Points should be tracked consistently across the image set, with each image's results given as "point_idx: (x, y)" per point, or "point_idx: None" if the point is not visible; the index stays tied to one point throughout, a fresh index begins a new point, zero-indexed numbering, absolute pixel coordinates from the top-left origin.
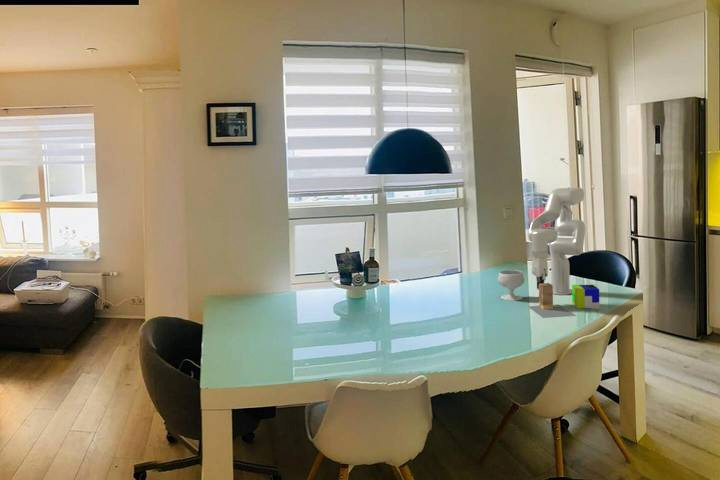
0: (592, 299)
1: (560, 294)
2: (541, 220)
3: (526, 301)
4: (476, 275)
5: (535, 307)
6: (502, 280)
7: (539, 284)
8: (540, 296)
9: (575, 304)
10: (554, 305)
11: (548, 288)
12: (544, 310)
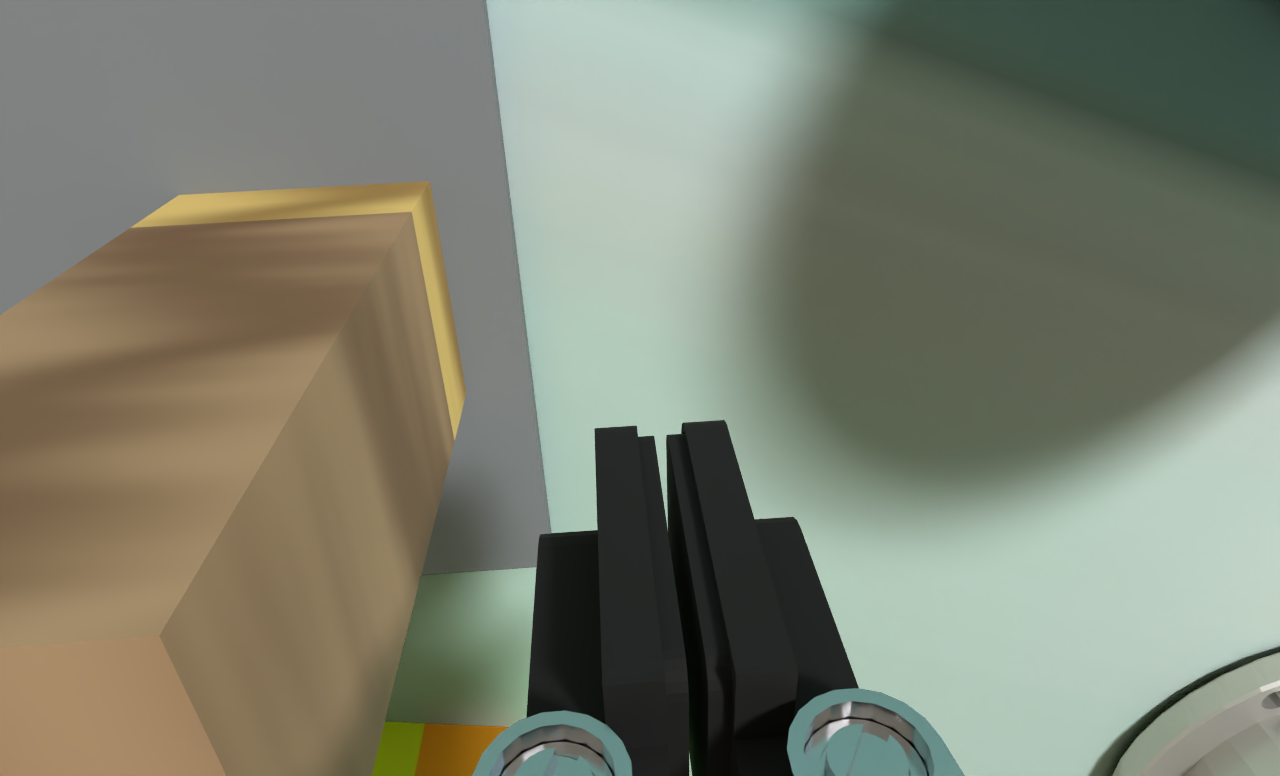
0: None
1: (1148, 730)
2: None
3: (1049, 40)
4: None
5: (329, 53)
6: None
7: (42, 624)
8: (225, 303)
9: (436, 759)
10: (480, 490)
11: None
12: (54, 189)
